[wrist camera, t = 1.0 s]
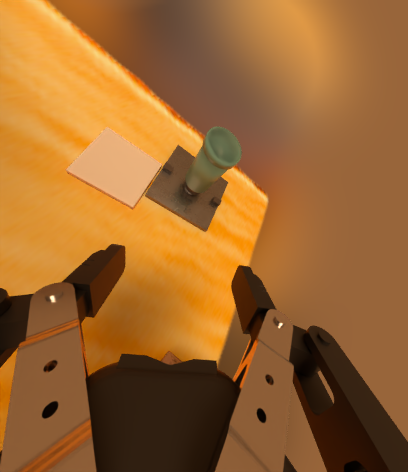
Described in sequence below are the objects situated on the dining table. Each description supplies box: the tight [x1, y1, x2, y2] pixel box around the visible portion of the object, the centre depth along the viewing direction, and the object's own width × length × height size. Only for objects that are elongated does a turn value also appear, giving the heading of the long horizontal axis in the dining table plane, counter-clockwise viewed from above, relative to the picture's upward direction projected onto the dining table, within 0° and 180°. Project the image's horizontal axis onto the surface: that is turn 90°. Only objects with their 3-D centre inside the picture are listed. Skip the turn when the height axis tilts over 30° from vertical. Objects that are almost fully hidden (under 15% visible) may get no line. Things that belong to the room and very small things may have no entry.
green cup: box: [185, 127, 242, 193], centre depth 26 cm, size 6×6×10 cm
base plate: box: [145, 145, 228, 231], centre depth 32 cm, size 14×14×4 cm
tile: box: [66, 127, 162, 209], centre depth 28 cm, size 11×11×1 cm
